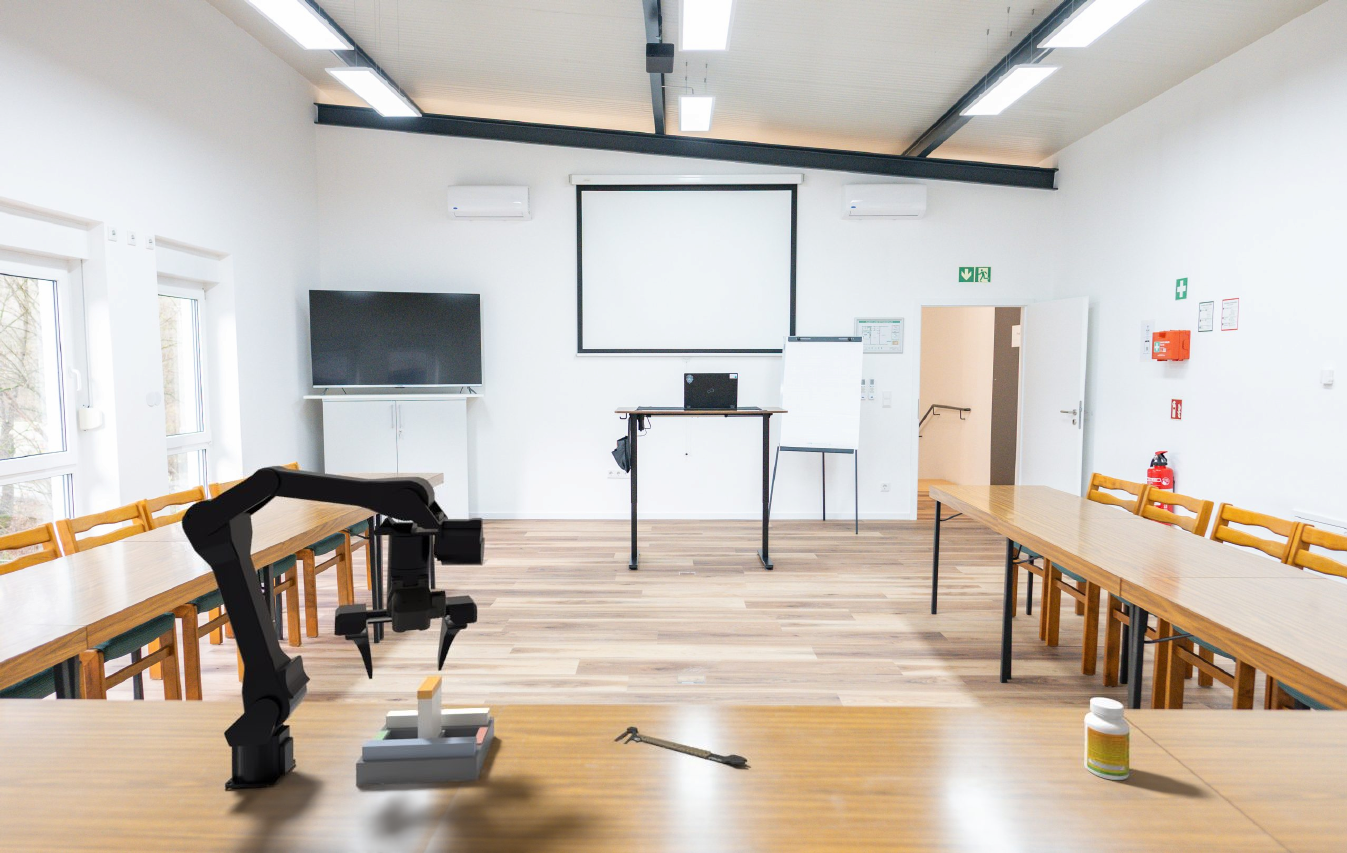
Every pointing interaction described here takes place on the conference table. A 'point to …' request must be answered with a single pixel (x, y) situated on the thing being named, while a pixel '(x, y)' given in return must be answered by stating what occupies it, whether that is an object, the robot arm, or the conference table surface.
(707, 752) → the tactical tomahawk
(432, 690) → the handle
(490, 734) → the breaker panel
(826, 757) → the conference table surface
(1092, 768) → the supplement bottle
